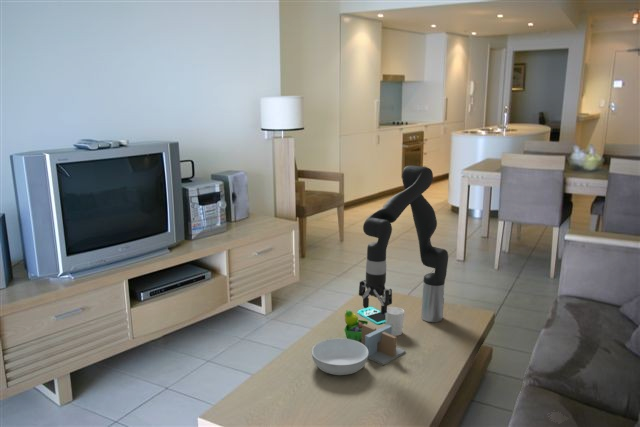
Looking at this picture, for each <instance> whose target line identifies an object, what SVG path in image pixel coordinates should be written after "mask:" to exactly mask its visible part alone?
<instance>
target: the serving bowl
mask: <svg viewBox="0 0 640 427" xmlns="http://www.w3.org/2000/svg"><path fill="white" fill-rule="evenodd" d="M368 354H369V352H368V349H367V347H366V346H365V345H363V344H362V343H361V341H360V342H358V341H355V340H351V339H347V338H342V337H335V338H333V337H332V338H328V339H327V338H326V339H324V340H321V341H319V342H317V343H315V344H314V346H313V347H312V348H311V358H312V360H313V363H314V364H315V366H316V367H317V368H319V370H321V371H323V373H327V374H331V375H334V376H346V375H347V376H348V375H351V374H354V373H357V372H358V371H360V370H361V369H362V368H363V367H364V366H365V365H366V363H367V361H368V359H369V358H368Z"/></svg>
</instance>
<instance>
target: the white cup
mask: <svg viewBox="0 0 640 427" xmlns="http://www.w3.org/2000/svg"><path fill="white" fill-rule="evenodd" d="M404 318H405V310H404V309H403V308H401V307H399V306H397V307H396V306H389V307H387V313H386V317H385V321H386V322H385V326H386V325H390V326H392V334H391V335H393V336H396V337H397V336H400V335H402V333H403V327H404Z"/></svg>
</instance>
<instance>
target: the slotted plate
mask: <svg viewBox="0 0 640 427" xmlns="http://www.w3.org/2000/svg"><path fill="white" fill-rule="evenodd" d="M383 332H386V333H388V334H392V326H390V325H386V324H385V326H382V327H380V328H378V329H376V331H374V332H371V333H369V334H367V335H365V346H366V347H367V349H368V352H369V354H368V356H370V355H372V354H374V353H376V352H377V343H378V342H380V341H381V337H382V333H383Z"/></svg>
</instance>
